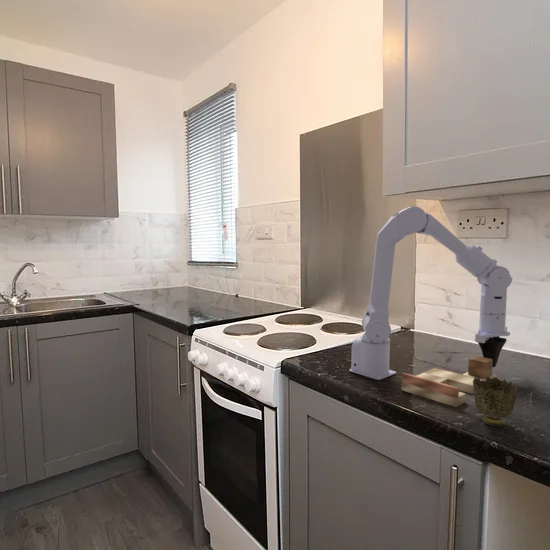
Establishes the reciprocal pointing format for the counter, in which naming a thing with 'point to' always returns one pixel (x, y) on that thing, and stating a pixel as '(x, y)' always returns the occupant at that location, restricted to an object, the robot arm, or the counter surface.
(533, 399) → the counter surface
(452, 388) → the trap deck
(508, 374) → the counter surface
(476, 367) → the walnut cube
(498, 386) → the cup
